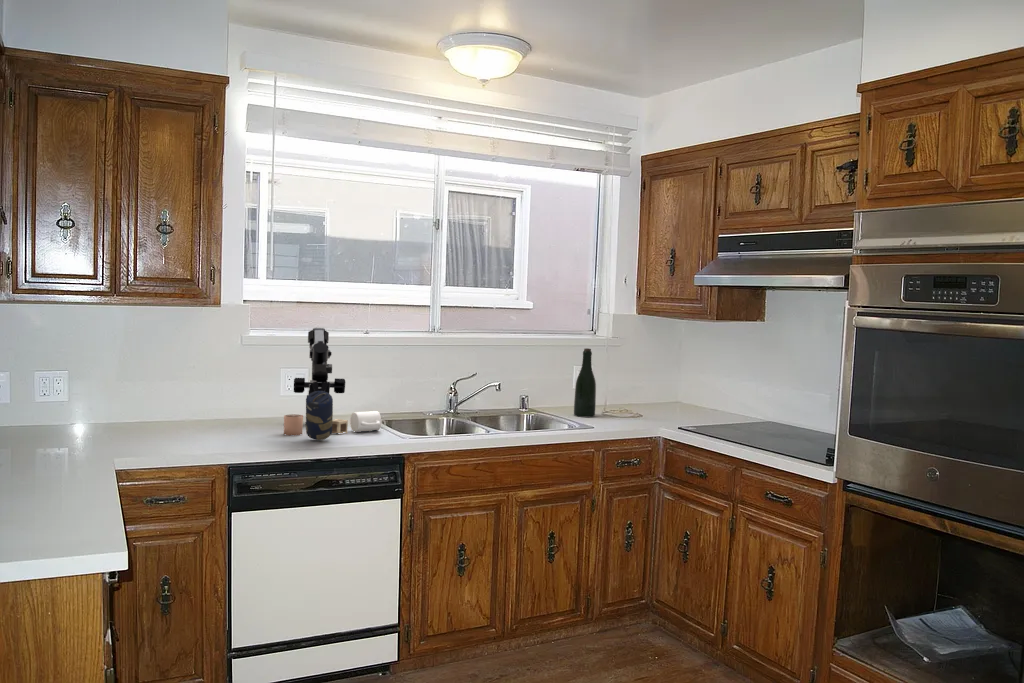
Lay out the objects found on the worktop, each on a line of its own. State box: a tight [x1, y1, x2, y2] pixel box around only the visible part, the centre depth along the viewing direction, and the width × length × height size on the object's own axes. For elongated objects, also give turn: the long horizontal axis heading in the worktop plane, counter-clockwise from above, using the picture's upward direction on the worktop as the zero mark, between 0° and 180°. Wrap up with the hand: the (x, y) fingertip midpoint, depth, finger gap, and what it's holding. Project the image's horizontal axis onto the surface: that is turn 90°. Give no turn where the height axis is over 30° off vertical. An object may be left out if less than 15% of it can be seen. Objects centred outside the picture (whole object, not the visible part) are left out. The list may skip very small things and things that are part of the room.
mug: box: [349, 410, 382, 433], centre depth 303 cm, size 12×10×8 cm
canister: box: [305, 391, 334, 441], centre depth 279 cm, size 10×10×18 cm
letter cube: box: [332, 418, 349, 433], centre depth 299 cm, size 5×5×5 cm
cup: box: [283, 413, 304, 436], centre depth 293 cm, size 7×7×7 cm
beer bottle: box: [573, 348, 597, 417], centre depth 371 cm, size 10×10×33 cm
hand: (319, 402), depth 281 cm, fingers closed, pressing on canister
